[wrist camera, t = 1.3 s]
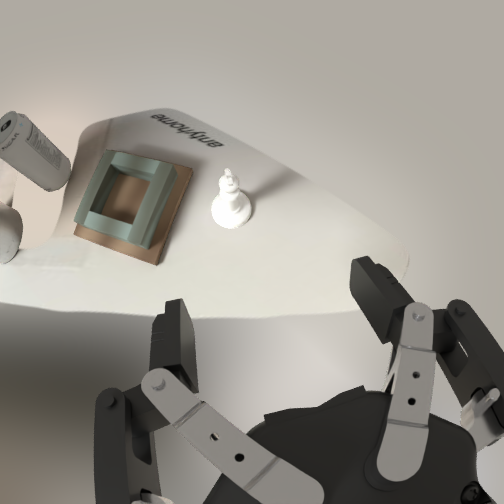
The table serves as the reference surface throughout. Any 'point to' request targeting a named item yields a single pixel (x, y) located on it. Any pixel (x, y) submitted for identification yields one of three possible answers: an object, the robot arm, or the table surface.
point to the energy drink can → (32, 152)
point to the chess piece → (230, 203)
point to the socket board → (132, 204)
